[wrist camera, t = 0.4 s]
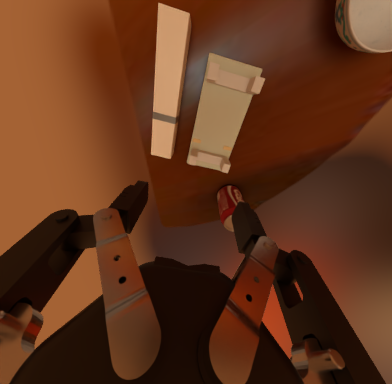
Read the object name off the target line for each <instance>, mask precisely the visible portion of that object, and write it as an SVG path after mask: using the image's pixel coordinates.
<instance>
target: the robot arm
mask: <svg viewBox="0 0 392 384" xmlns="http://www.w3.org/2000/svg"><path fill="white" fill-rule="evenodd" d="M147 200H148V182H144V181H137V183H136V184H135V185H130V186H128V187H126V188H125V189H124V190H123V191H122V193H121V194H120V195H119V196H118V197H117V198H116V199H115V201H114V202H113V203H112V204H111V205H110V206H109V207H108V208H105V209H101V210H99V211H97V212H96V213H95V214H94V215H82V216H78V214H77V212H76V211H74V210H70V209H65V210H60V211H57V212H54V213H52V214H51V215H49V216H48V217H47V218H46V219H44V220H43V221H42V222H41V223H40V224H38V225H37V226H36V227H35V228H34V229H33V230H31V231H30V232H29V233H28V234H26V235H25V236H24V237H23V238H22V239H21V240H19V241H18V242H17V243H16V244H14V245H13V246H12V247H11V248H10V249H9V250H7V251H6V252H5V253H4V254H3V255H1V256H0V384H386V383H385V381H384V380H383V378H382V376H381V374H380V373H379V371H378V370H377V368H376V366H375V365H374V363H373V361H372V360H371V358H370V357H369V355H368V353H367V351H366V350H365V348H364V347H363V345H362V343H361V342H360V340H359V338H358V337H357V335H356V333H355V332H354V330H353V328H352V327H351V326H350V324H349V322H348V320H347V319H346V317H345V315H344V314H343V312H342V310H341V309H340V307H339V305H338V304H337V302H336V301H335V299H334V297H333V296H332V294H331V292H330V291H329V289H328V287H327V286H326V284H325V283H324V281H323V279H322V278H321V276H320V274H319V273H318V271H317V269H316V268H315V266H314V265H313V263H312V261H311V260H310V259H309V258H308V257H307V256H306V255H305V254H304V253H302V252H300V251H297V250H293V251H291V252H290V253H288V252H285V251H283V250H281V249H279V248H278V246H277V244H276V243H275V242H274V241H273V240H272V239H270V238H269V237H267V236H266V233H265V231H264V229H263V227H262V224H261V222H260V220H259V218H258V216H257V214H256V213H255V212H254V210H253V209H251V208H250V206H249V204H248V203H246V202H241V201H239V202H238V203H237V205H236V207H235V209H234V211H233V213H232V218H231V219H232V224H233V229H234V233H235V237H236V241H237V246H238V250H239V253H243V254H245V258H244V259H243V261H242V262H241V264H240V266H239V267H238V269H237V271H236V273H235V274H234V276H233V278H232V279H230V278H228V277H227V276H226V275H225V274H223V273H221V272H220V269H219V268H220V267H219V266H213V265H207V264H201V265H192V266H187V265H185V264H182V263H180V262H178V261H176V260H173V259H169V258H163V257H156V258H155V261H153V262H148V263H145V264H142V265H140V266H138V264H137V261H136V258H135V255H134V252H133V250H132V246H131V243H130V240H129V237H128V235H127V234H126V233H128V234H130V233H131V231H132V230H133V227H134V226H135V224H136V222H137V220H138V218H139V216H140V215H141V213H142V211H143V209H144V207H145V205H146V203H147ZM93 247H96V250H97V256H98V264H99V271H100V277H101V284H102V291H103V294H102V295H101V296H100V297H98V298H97V299H96V300H95V301H93V302H92V303H91V304H90V305H88V306H87V307H86V308H85V309H84V310H82V311H81V312H80V313H78V314H77V315H76V316H75V317H74V318H72V319H71V320H70V321H68V322H67V323H66V324H65V325H63V326H62V327H61V328H60V329H58V330H57V331H56V332H55V333H53V334H52V335H51V336H50V337H49V338H47V339H46V340H45V341H44V342H42V343H41V344H40V345H39V346H38V347H37V348H36V349H34V345H35V340H36V338H37V336H38V334H39V332H40V330H41V328H42V325H43V316H42V314H41V313H40V312H41V311H42V310H43V308H44V307H45V305H46V304H47V302H48V301H49V300H50V298H51V297H52V295H53V294H54V292H55V291H56V290H57V288H58V287H59V285H60V284H61V282H62V281H63V280H64V278H65V277H66V275H67V274H68V273H69V271H70V270H71V268H72V267H73V265H74V264H75V262H76V261H77V260H78V258H79V257H80V255H81V254H82V252H83V251H84V250H85V248H93ZM296 281H297V283H298V285H299V287H300V290H301V292H302V294H303V301H302V300H301V298H300V295H299V293H298V291H297V288H296V286H295V284H294V283H295V282H296ZM272 284H273V285H274V289H275V292H276V294H277V298H278V301H279V304H280V307H281V310H282V313H283V316H284V319H285V322H286V326H287V328H288V331H289V335H290V338H291V341H292V344H293V345H292V348H291V355H292V357H291V358H290V359H289V358H288V357H287V355H286V354H285V352H284V351H283V350H282V348H281V347H280V346H279V344H278V343H277V341H276V340H275V339H274V337H273V336H272V335H271V333H270V332H269V331H268V329H267V328H266V326H265V325H264V323H263V322H262V318H263V314H264V311H265V308H266V304H267V301H268V297H269V294H270V291H271V287H272Z"/></svg>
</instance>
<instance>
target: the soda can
mask: <svg viewBox="0 0 392 384" xmlns="http://www.w3.org/2000/svg"><path fill="white" fill-rule="evenodd" d="M217 198H218V205H219V212H220V219H221V222H222V224H224V226H225V228H226V229H227V230H229V231H233V232H234V229H233V224H232V219H231V218H232V213H233V211H234V209H235V207H236V205H237V203H238V202H239V201H241V202H244V200H243V198H242V195H241V193H240V191H239V189H238V188H237V187H235V186H225V187H223V188H221V189H220V190H219V191H218V194H217Z"/></svg>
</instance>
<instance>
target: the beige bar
mask: <svg viewBox="0 0 392 384" xmlns="http://www.w3.org/2000/svg"><path fill="white" fill-rule="evenodd" d="M191 28H192V25H191V19H190V13H187V12H184V11H181V10H178V9H175V8H172V7H169V6H167V5H164V4H161V3H159V4H158V25H157V45H156V65H155V85H154V105H153V117H152V118H153V126H152V146H151V154H152V155H156V156H160V157H164V158H169V159H171V157H172V155H173V153H174V147H175V140H176V133H177V126H178V121H179V112H180V105H181V98H182V91H183V84H184V77H185V70H186V63H187V56H188V49H189V42H190V35H191Z"/></svg>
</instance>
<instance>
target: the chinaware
mask: <svg viewBox="0 0 392 384" xmlns="http://www.w3.org/2000/svg"><path fill="white" fill-rule="evenodd" d="M335 24H336V29H337V32H338V35H339V37H340V38H341V40H342V41H343V42H344V43H345V44H346V45H347V46H349V47H350V48H352V49H354V50H357V51H361V52H367V53H384V52H390V51H392V0H337V1H336V8H335Z"/></svg>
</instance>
